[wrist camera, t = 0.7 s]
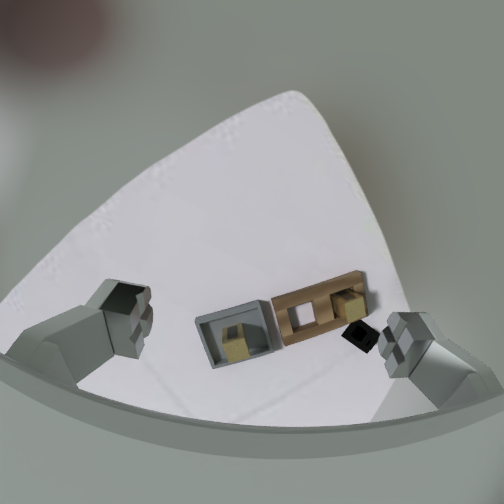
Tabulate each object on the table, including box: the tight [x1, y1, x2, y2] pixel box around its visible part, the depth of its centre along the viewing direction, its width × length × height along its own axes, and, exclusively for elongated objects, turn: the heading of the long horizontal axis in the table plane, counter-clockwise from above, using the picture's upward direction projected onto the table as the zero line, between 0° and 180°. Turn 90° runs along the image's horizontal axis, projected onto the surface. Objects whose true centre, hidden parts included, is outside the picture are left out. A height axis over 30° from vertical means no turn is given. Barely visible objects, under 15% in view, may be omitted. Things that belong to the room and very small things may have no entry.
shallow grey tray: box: [195, 300, 274, 369], centre depth 54 cm, size 11×13×2 cm
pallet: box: [271, 270, 368, 346], centre depth 55 cm, size 10×19×2 cm, turn 106°
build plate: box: [341, 319, 380, 353], centre depth 56 cm, size 12×7×5 cm, turn 54°
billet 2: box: [329, 288, 366, 323], centre depth 53 cm, size 4×4×8 cm
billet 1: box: [222, 323, 250, 363], centre depth 51 cm, size 4×4×8 cm
